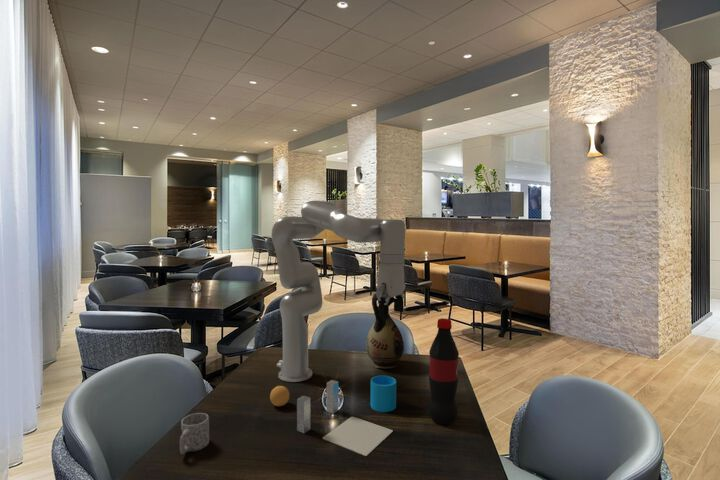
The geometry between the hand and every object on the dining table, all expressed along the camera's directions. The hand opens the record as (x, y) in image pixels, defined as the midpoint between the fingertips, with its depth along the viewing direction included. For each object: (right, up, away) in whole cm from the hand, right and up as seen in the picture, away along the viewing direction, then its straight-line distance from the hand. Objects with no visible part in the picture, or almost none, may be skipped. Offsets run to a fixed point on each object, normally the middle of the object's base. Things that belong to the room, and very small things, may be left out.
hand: (391, 314), depth 119 cm
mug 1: (-53, -31, -21) cm, 64 cm away
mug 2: (-2, -30, +5) cm, 30 cm away
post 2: (-18, -30, -1) cm, 35 cm away
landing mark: (-10, -30, -14) cm, 35 cm away
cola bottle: (+15, -30, -5) cm, 34 cm away
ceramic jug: (0, -28, +37) cm, 46 cm away
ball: (-35, -26, +2) cm, 44 cm away
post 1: (-25, -30, -12) cm, 41 cm away
